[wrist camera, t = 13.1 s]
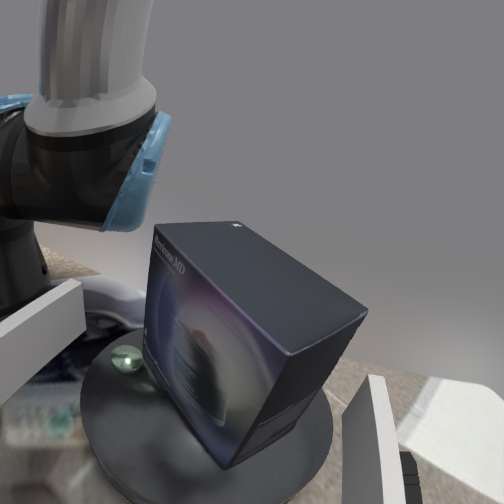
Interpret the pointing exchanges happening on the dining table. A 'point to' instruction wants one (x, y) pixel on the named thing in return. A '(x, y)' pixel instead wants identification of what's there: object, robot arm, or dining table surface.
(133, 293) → the dining table surface
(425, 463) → the dining table surface
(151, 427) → the plate
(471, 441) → the dining table surface
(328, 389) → the dining table surface
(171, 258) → the small box
